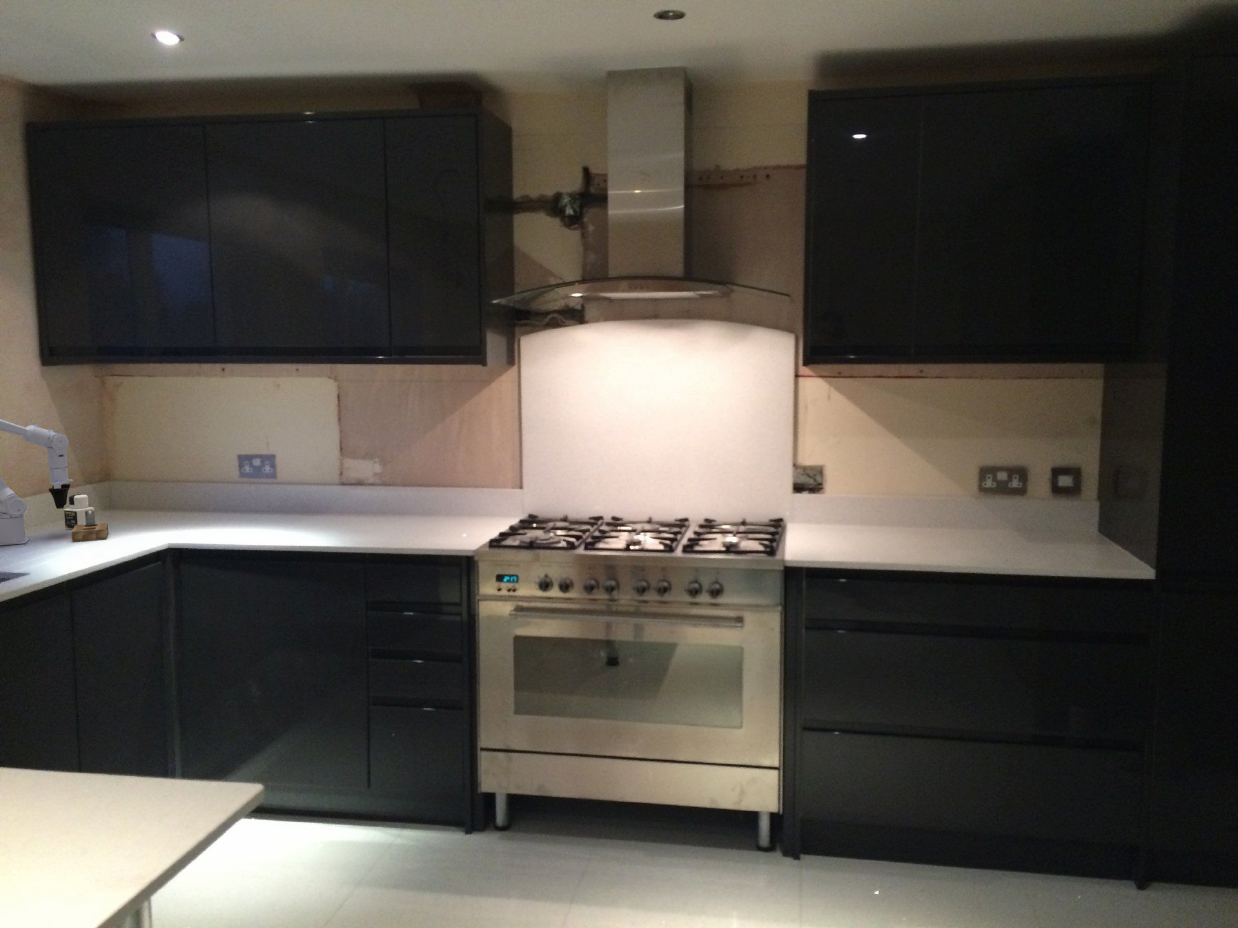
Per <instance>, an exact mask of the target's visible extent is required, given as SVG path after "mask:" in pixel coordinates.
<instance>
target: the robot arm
mask: <svg viewBox="0 0 1238 928" xmlns="http://www.w3.org/2000/svg"><path fill="white" fill-rule="evenodd" d="M0 431H1V432H4V433H8V434H13V435H16V436H20V437H22V439H23V441H24V442H26V443H31V444H32V445H33V444H34V445H37V446H41V447H45V448H46V449H47V450H46V451H47V462H48V463H47V464H48V475H49V481H48V483H49V484H51V485H52V486H51V487H50V488H48V491H49V493H50V495H51V496H52V499H53V502H54V506H55V508H56V509H58V510H61V509H65V506H67V503H68V502H67V501H68V494H69V489H70V488H71V485H72V484H71V483H73V481H74V480H73V479H72V478H71V479H69V467H68V454H67V448H68V447H69V445H70V440H68V439H69V438H68V437H67V436H66V435H65V434H64V433H60V432H54V430H53V429H51V428H50V429H45V428H42V427H40V425H38V424H31V425H28V426H22V425H19V424H15V423H12V422H10V421H7V420H4V419H0ZM26 510H27V504H26V500H24V499H23V498H21V497H19V496H18V495H17V493H16V492H15V491H13V490H12V489H11V488H10V487H9V486H8V484H7V483H6V482H5V480H4V479H3V478H2V476H1V475H0V546H8V545H21V544H27V542H28V541H29V540H30V539H29V538H28V537H26V527H25V515H24V513H25V512H26Z"/></svg>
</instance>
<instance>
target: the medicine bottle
mask: <svg viewBox="0 0 1238 928" xmlns="http://www.w3.org/2000/svg"><path fill="white" fill-rule="evenodd" d="M68 505H69V507H68V508H63V512H64V513H63V515H64V527H65V529H66V530H73V528H74V527H75V525H84V524H86V521H85V511H90V510H94V511H96V510H95V507H92V506H91V507H90V506H89V496H88V495H87V494H85V493H84V494H83V493H82V494H80V493H79V494H78V493H77V494H71V495H70V496H68Z"/></svg>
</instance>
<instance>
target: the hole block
mask: <svg viewBox="0 0 1238 928" xmlns="http://www.w3.org/2000/svg"><path fill="white" fill-rule="evenodd" d="M108 535H109V522H98V523H96V526H90V527H86V524H84V525H75V527H74V528H73V529H71V540H72V541H71V543H79V542H80V541H81V542H90V541H103V540H105V541H106V540H107V538H108Z"/></svg>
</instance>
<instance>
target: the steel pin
mask: <svg viewBox="0 0 1238 928" xmlns="http://www.w3.org/2000/svg"><path fill="white" fill-rule="evenodd" d="M94 510H95V509H94ZM94 510H90V511H85V521H86V527H90V526H96V524H97V522H96V512H95V511H96V510H95V511H94Z"/></svg>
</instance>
